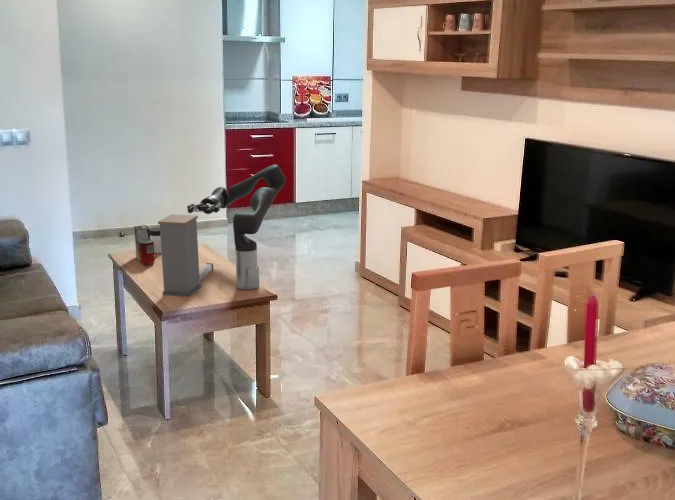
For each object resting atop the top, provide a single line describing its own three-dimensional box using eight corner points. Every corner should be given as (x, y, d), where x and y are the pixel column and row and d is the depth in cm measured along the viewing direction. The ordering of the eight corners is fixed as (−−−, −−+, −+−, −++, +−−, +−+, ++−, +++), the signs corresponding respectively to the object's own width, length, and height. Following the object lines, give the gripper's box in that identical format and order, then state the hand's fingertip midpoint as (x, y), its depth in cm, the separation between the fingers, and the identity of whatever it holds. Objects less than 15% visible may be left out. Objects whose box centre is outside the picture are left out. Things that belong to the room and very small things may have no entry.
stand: (189, 296, 304) (185, 222, 296) (162, 294, 306) (157, 221, 298) (201, 286, 318) (197, 215, 309) (175, 284, 320) (171, 214, 311)
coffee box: (152, 260, 357) (149, 228, 353) (139, 261, 355) (136, 230, 350) (148, 255, 365) (146, 224, 361) (135, 257, 363) (133, 226, 358)
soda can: (158, 263, 352) (156, 239, 348) (147, 267, 346) (145, 242, 343) (147, 261, 355) (145, 237, 352) (137, 265, 349) (135, 240, 346)
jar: (148, 254, 368) (146, 231, 365) (150, 250, 376) (148, 227, 372) (166, 253, 369) (164, 230, 366) (167, 249, 377) (166, 227, 374)
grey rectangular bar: (198, 281, 324) (198, 275, 323) (188, 281, 325) (188, 274, 324) (215, 269, 342) (214, 263, 341) (205, 269, 343) (205, 262, 342)
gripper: (225, 212, 341) (213, 220, 326) (196, 211, 343) (183, 219, 328) (224, 197, 339) (212, 204, 324) (195, 196, 341) (182, 202, 326)
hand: (198, 211), depth 326 cm, fingers open, 8 cm apart
